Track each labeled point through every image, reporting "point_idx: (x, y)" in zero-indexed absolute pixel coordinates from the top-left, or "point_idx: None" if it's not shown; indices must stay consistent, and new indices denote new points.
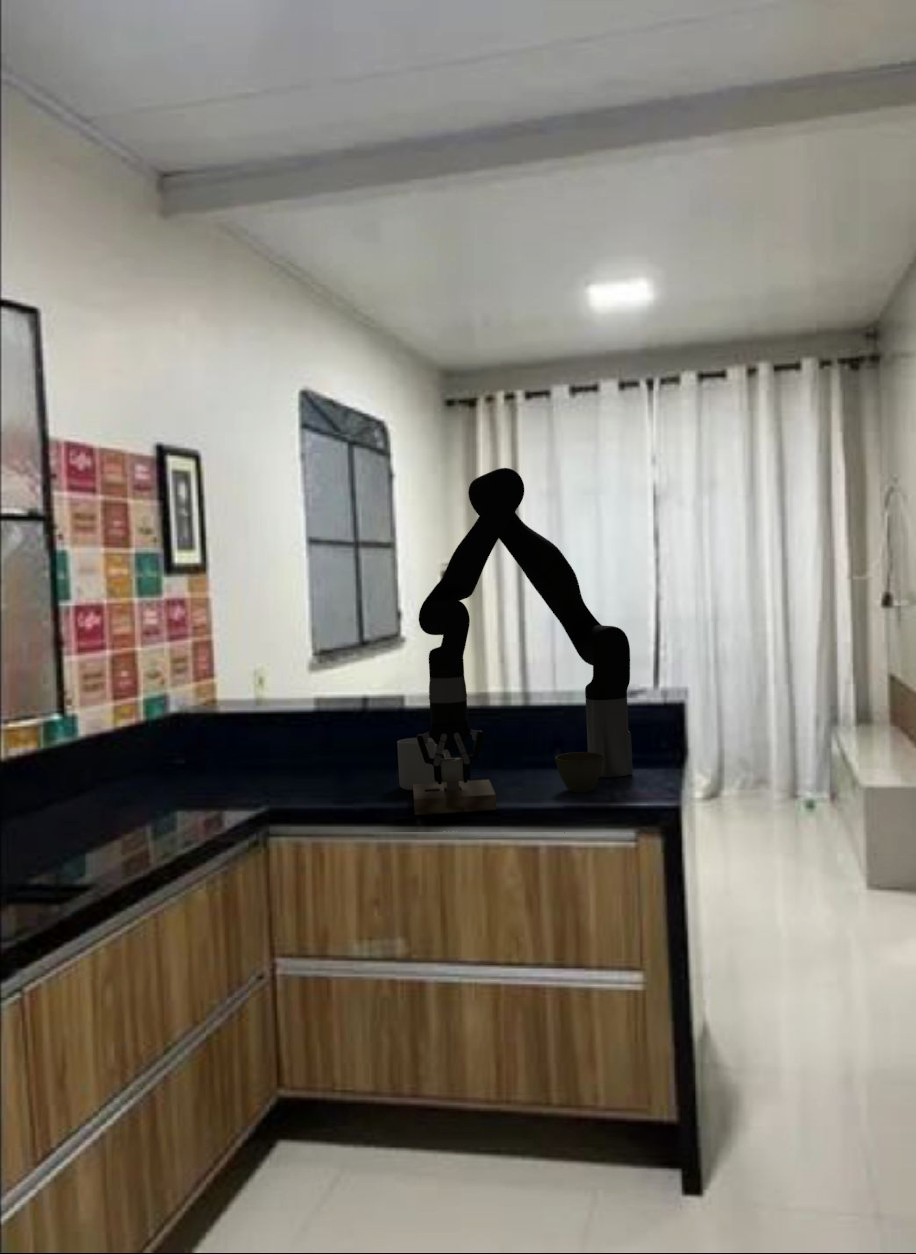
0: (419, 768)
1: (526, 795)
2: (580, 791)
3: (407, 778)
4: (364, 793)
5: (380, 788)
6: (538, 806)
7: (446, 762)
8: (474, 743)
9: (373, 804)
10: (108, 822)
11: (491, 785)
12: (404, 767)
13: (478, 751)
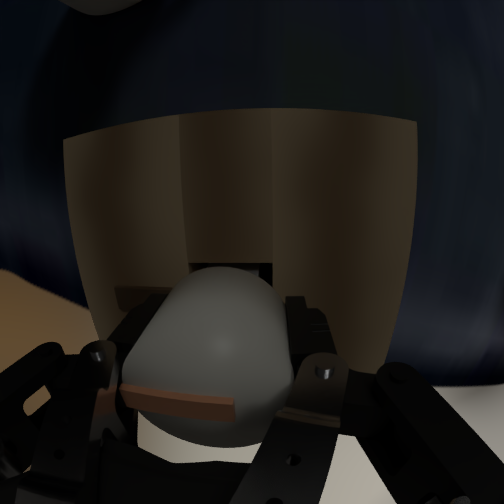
0: None
1: (480, 209)
2: None
3: (70, 5)
4: (7, 69)
5: (42, 9)
6: (453, 351)
7: (181, 437)
8: (433, 462)
9: (19, 208)
10: None
11: (406, 270)
12: None
13: (403, 458)
